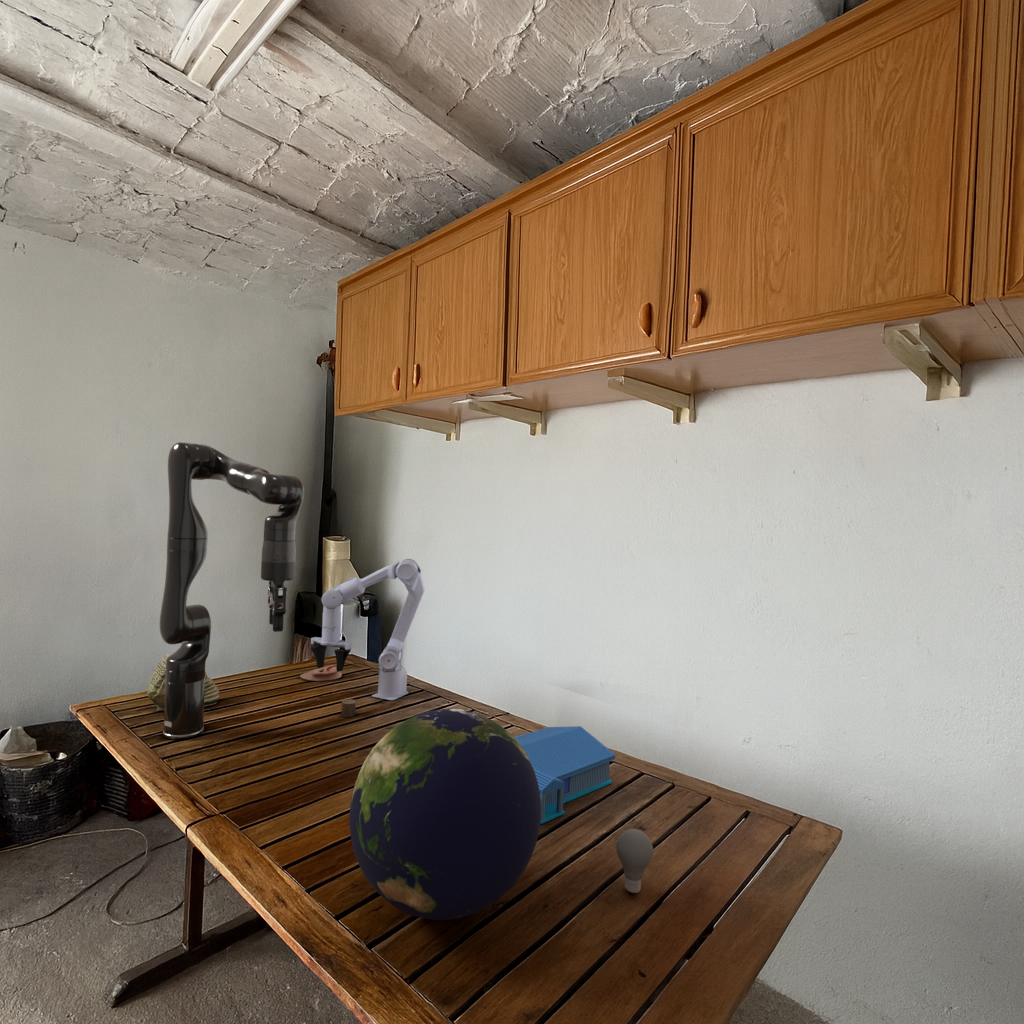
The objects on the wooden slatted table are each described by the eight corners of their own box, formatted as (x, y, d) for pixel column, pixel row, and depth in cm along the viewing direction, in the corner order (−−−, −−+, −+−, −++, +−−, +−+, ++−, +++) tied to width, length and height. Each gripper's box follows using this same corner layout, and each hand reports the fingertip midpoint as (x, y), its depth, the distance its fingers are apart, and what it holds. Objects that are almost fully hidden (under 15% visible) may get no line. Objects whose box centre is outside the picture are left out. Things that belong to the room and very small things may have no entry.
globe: (303, 931, 92) (311, 727, 92) (410, 834, 120) (417, 677, 120) (490, 1000, 81) (500, 768, 81) (561, 876, 109) (569, 702, 108)
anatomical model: (295, 667, 216) (312, 659, 227) (295, 679, 216) (312, 670, 227) (331, 671, 213) (346, 663, 224) (330, 683, 213) (346, 674, 224)
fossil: (144, 707, 182) (145, 655, 182) (212, 696, 194) (213, 647, 194) (151, 716, 175) (153, 662, 175) (221, 703, 188) (223, 653, 188)
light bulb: (610, 879, 108) (613, 822, 108) (644, 879, 109) (647, 822, 109) (619, 902, 102) (622, 840, 102) (655, 901, 103) (658, 840, 103)
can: (338, 715, 183) (339, 701, 183) (348, 711, 186) (349, 698, 186) (348, 718, 181) (348, 704, 181) (358, 714, 184) (358, 701, 184)
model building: (493, 845, 118) (495, 791, 117) (419, 795, 136) (421, 749, 136) (624, 787, 144) (626, 744, 144) (547, 752, 162) (548, 713, 162)
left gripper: (299, 562, 145) (296, 633, 145) (291, 556, 158) (288, 621, 158) (264, 562, 141) (261, 634, 142) (259, 556, 154) (256, 622, 155)
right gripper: (304, 625, 201) (303, 668, 201) (342, 631, 195) (340, 675, 195) (320, 622, 207) (318, 663, 207) (356, 627, 201) (354, 670, 202)
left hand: (275, 627), depth 150 cm, fingers open, 8 cm apart
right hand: (330, 669), depth 202 cm, fingers open, 7 cm apart
